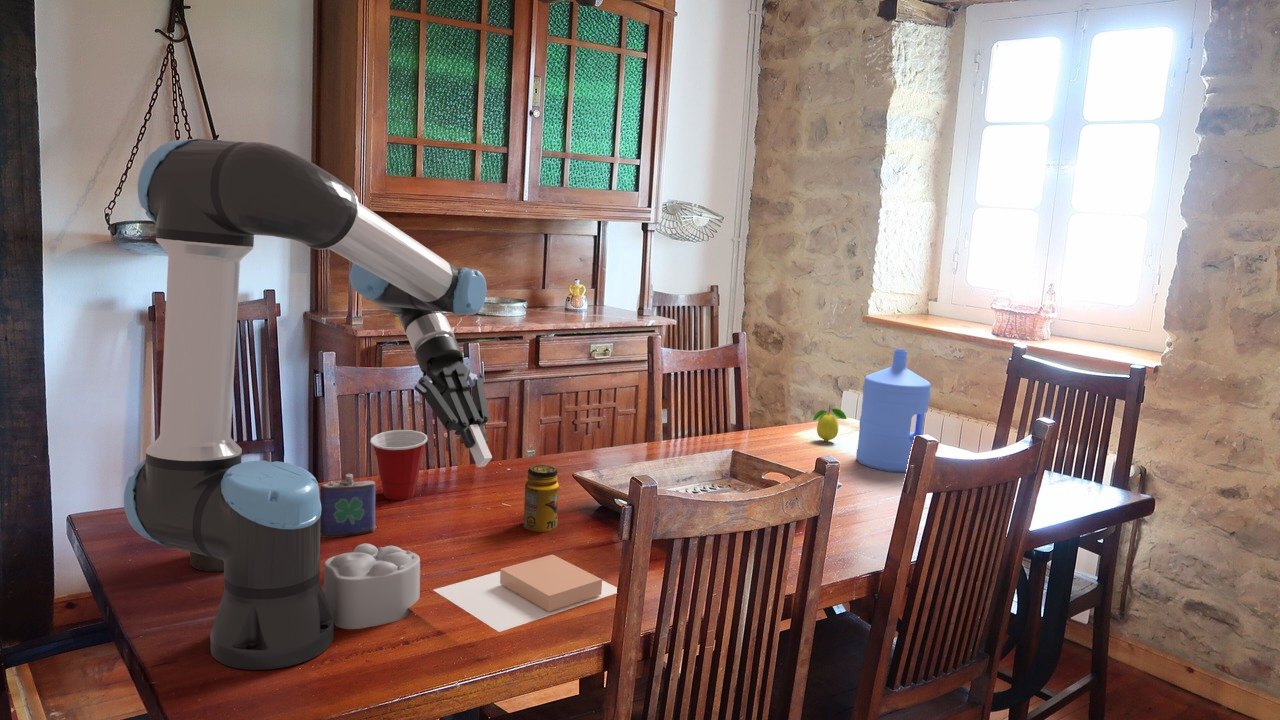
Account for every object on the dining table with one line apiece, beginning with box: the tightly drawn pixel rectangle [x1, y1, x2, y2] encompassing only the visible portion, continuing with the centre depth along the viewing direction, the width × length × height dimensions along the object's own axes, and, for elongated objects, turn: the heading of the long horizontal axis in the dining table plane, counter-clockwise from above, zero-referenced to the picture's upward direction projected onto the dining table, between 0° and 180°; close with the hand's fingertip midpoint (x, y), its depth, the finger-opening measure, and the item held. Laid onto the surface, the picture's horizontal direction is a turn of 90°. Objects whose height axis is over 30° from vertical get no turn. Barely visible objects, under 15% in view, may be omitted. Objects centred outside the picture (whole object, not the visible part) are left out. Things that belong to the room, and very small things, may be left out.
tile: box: [499, 554, 603, 612], centre depth 143 cm, size 10×3×12 cm
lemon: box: [812, 404, 848, 443], centre depth 247 cm, size 7×6×10 cm
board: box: [432, 570, 618, 633], centre depth 143 cm, size 23×17×1 cm
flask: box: [319, 473, 376, 538], centre depth 164 cm, size 9×3×11 cm, turn 116°
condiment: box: [523, 464, 560, 533], centre depth 169 cm, size 7×8×12 cm
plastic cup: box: [370, 429, 428, 501], centre depth 184 cm, size 11×11×12 cm
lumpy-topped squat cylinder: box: [323, 543, 421, 630], centre depth 136 cm, size 10×13×9 cm
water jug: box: [855, 348, 932, 473], centre depth 228 cm, size 16×16×28 cm
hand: (484, 462), depth 154 cm, fingers closed
